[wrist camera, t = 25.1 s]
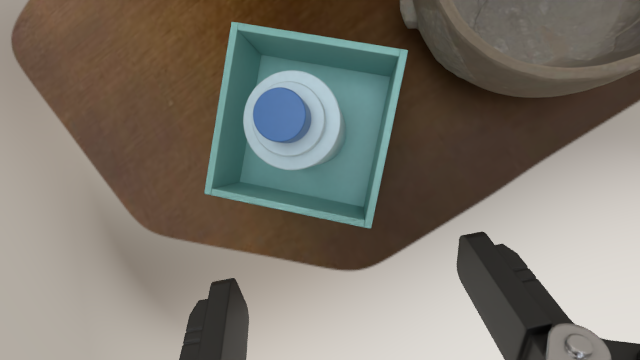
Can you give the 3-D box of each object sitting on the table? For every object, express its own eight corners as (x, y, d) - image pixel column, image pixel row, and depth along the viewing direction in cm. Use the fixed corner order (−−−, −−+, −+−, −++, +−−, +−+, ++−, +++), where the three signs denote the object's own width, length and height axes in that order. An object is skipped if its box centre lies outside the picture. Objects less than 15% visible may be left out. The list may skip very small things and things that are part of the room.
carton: (235, 185, 31) (203, 193, 25) (258, 49, 30) (231, 21, 23) (368, 212, 30) (371, 229, 23) (396, 73, 29) (408, 50, 22)
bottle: (282, 165, 30) (225, 174, 17) (279, 100, 30) (219, 58, 17) (347, 163, 29) (339, 171, 16) (345, 96, 29) (335, 50, 16)
